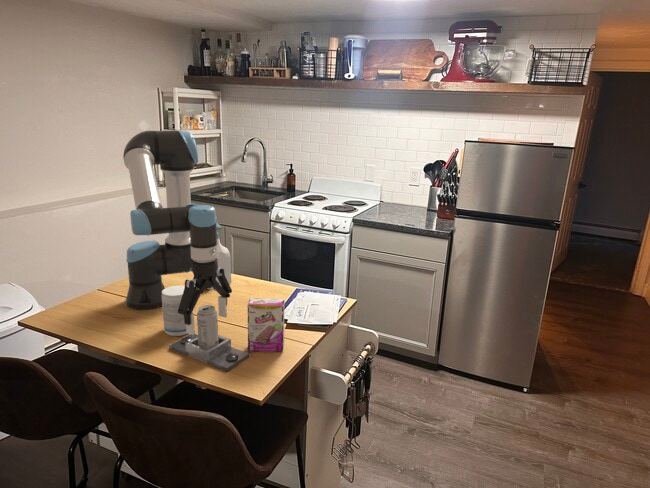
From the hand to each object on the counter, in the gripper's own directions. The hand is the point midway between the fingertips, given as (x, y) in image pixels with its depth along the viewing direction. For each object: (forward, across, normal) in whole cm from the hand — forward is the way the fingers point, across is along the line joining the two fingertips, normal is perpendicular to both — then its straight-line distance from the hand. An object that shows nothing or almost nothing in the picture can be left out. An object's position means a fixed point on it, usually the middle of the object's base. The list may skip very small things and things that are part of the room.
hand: (207, 324), depth 143 cm
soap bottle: (+11, +43, +37) cm, 58 cm away
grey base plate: (+9, 0, 0) cm, 10 cm away
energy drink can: (+10, 0, 0) cm, 10 cm away
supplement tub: (+10, +5, +19) cm, 22 cm away
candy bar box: (+10, +12, -14) cm, 20 cm away
